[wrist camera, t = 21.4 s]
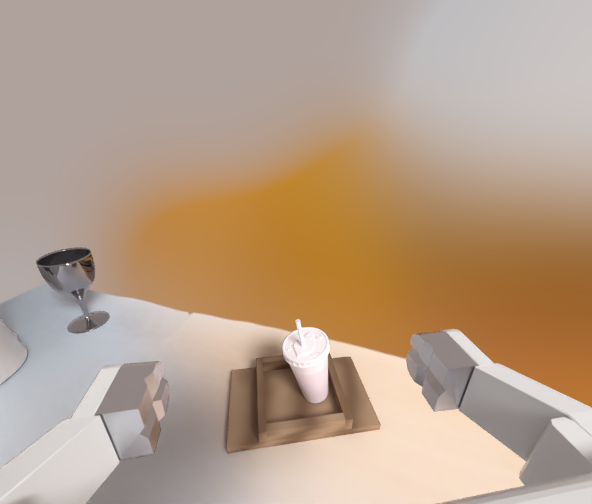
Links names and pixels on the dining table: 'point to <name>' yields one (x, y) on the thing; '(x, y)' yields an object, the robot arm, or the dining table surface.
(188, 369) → the dining table surface
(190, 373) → the dining table surface
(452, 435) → the dining table surface
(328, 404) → the tray
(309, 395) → the smoothie
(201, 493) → the dining table surface
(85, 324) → the wine glass
